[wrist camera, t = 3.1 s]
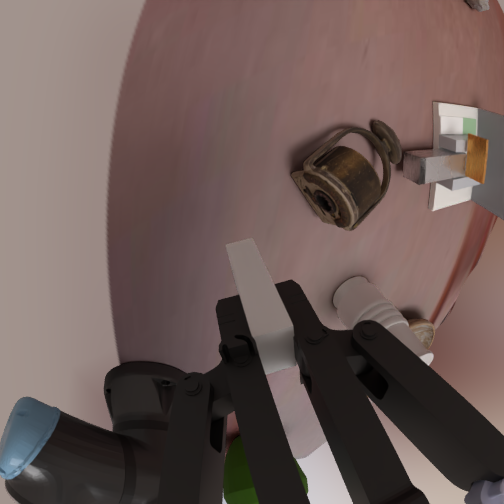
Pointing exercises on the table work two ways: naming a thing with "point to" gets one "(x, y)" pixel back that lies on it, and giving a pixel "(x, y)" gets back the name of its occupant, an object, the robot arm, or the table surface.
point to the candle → (375, 313)
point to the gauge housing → (456, 139)
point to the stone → (479, 4)
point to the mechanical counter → (348, 177)
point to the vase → (243, 476)
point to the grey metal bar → (447, 163)
